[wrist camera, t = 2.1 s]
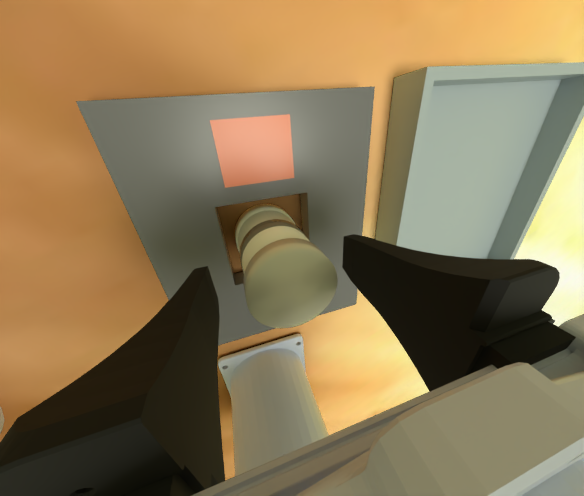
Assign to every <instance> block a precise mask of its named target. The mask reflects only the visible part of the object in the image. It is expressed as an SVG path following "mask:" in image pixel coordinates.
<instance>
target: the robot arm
mask: <svg viewBox="0 0 584 496" xmlns="http://www.w3.org/2000/svg"><path fill="white" fill-rule="evenodd" d="M342 268H343V269H344V271H345V272H346V274H347V276H348V277H349V279H350V280H351V281H352V283H353V284H354V285H355V286H356V287H357V288H358V290H359V291H360V292H361V293H362V294H363V295H364V296H365V297H366V299H367V300H368V301H369V302H370V303H371V304H372V305H373V306H374V307H375V309H376V310H377V311H378V312H379V313H380V315H381V316H382V317H383V319H384V320H385V321H386V323H387V324H388V326H389V327H390V328H391V330H392V331H393V333H394V334H395V336H396V337H397V339H398V340H399V342H400V343H401V345H402V346H403V348H404V349H405V351H406V352H407V354H408V356H409V357H410V359H411V360H412V362H413V364H414V365H415V367H416V368H417V370H418V372H419V374H420V375H421V377H422V379H423V381H424V382H425V384H426V386H427V388H428V389H429V391H430V392H428V393H425V394H423V395H421V396H419V397H416V398H414V399H412V400H409V401H407V402H405V403H403V404H400V405H398V406H396V407H393V408H391V409H389V410H386V411H384V412H382V413H380V414H377V415H375V416H373V417H370V418H368V419H366V420H364V421H361V422H359V423H357V424H354V425H352V426H350V427H347V428H345V429H343V430H341V431H338V432H336V433H334V434H331V435H328V432H327V429H326V427H325V424H324V421H323V419H322V416H321V413H320V410H319V408H318V405H317V402H316V400H315V397H314V394H313V392H312V389H311V386H310V384H309V381H308V378H307V375H306V371H305V359H304V346H303V337H302V335H301V334H294V335H291V336H288V337H285V338H282V339H278V340H275V341H272V342H269V343H266V344H262V345H259V346H256V347H253V348H250V349H246V350H243V351H240V352H237V353H234V354H230V355H227V356H224V357H221V358H220V359H219V360H218V366H219V369H220V371H221V374H222V376H223V379H224V381H225V384H226V386H227V389H228V391H229V394H230V396H231V404H232V424H233V443H234V463H235V477H233V478H230V479H228V480H226V481H225V474H224V462H223V451H222V439H221V425H220V411H219V395H218V375H217V357H218V339H219V321H220V314H219V301H218V296H217V293H216V290H215V287H214V284H213V281H212V278H211V275H210V271H209V268H208V266H205V267H200V268H196V269H194V270H193V271H192V272H191V274H190V275H189V276H188V278H187V279H186V280H185V282H184V283H183V284H182V285H181V287H180V288H179V289H178V291H177V292H176V293H175V294H174V295H173V297H172V298H171V299H170V300H169V301H168V302H167V303H166V305H165V306H164V307H163V308H162V309H161V310H160V311H159V312H158V313H157V314H156V315H155V316H154V317H153V318H152V319H151V320H150V321H149V322H148V323H147V324H146V325H145V326H144V327H143V328H142V329H141V330H140V331H139V332H138V333H136V334H135V335H134V336H133V337H132V338H130V339H129V340H128V341H127V342H126V343H124V344H123V345H122V346H121V347H120V348H118V349H117V350H116V351H115V352H114V353H112V354H111V355H110V356H108V357H107V358H106V359H104V360H103V361H102V362H100V363H99V364H98V365H96V366H95V367H94V368H92V369H91V370H90V371H88V372H87V373H85V374H84V375H83V376H81V377H80V378H78V379H77V380H75V381H74V382H72V383H71V384H70V385H68V386H67V387H65V388H64V389H62V390H60V391H59V392H57V393H56V394H54V395H53V396H51V397H50V398H48V399H47V400H45V401H43V402H42V403H40V404H39V405H37V406H36V407H34V408H33V409H31V410H30V411H28V412H26V413H25V414H23V415H22V416H20V417H18V418H17V420H16V421H15V422H14V424H13V425H12V427H11V428H10V429H9V431H8V432H7V434H6V435H5V437H4V438H3V439H2V441H1V442H0V496H584V462H583V461H584V314H582V315H580V316H578V317H575V318H573V319H571V320H568V321H566V322H564V323H563V324H561V325H560V326H559V327H557V326H556V325H554V324H552V323H550V322H548V321H550V320H551V319H552V317H551V315H549V314H547V313H546V312H544V311H542V310H541V309H542V308H543V306H544V305H545V303H546V302H547V300H548V299H549V297H550V296H551V294H552V293H553V291H554V289H555V288H556V286H557V284H558V281H559V272H558V270H557V269H556V268H555V267H552V266H550V265H547V264H545V263H542V262H539V261H535V260H530V259H480V258H466V257H456V256H447V255H440V254H433V253H428V252H422V251H417V250H412V249H408V248H404V247H400V246H396V245H393V244H389V243H386V242H382V241H379V240H375V239H372V238H368V237H365V236H361V235H356V234H352V235H348V236H344V240H343V263H342Z"/></svg>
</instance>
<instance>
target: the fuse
mask: <svg viewBox="0 0 584 496" xmlns="http://www.w3.org/2000/svg"><path fill="white" fill-rule="evenodd" d="M235 239H236V245H237V248H238V251H239V253H240V260H241V266H242V270H243V273H244V278H243V284H244V290H245V296H246V302H247V306H248V309H249V311H250V313H251V315H252V316H253V317H254V318H255V319H256V320H257V321H258V322H260V323H261V324H264V325H266V326H269V327H273V328H290V327H295V326H298V325H301V324H304V323H306V322H308V321H310V320H312V319H313V318H315V317H316V316H318V315H319V314H320V313H321V312H322V311H323V310H324V309H325V308H326V307H327V306H328V305H329V303H330V302H331V300H332V298H333V297H334V294H335V292H336V288H337V282H338V279H337V272H336V269H335V267H334V265H333V264H332V262H331V261H330V260H329V259H328V258H327V257H326V256H325V255H324V253H323V252H322V251H321V250H320V249H319V248H318V247H317V246H316V245H315V244H313V243H311V242H310V241H309V240H308V238H307V237H306V235H305V234H304V233H303V232H302V231H301V230H300V229H299V228H298V227H297V226H296V224H295V222H294V221H293V219H292V218H291V217H290V216H289V215H288V214H287V213H286V211H284V210H283V209H282V208H280V207H278V206H276V205H273V204H259V205H255V206H253V207H251V208H249V209H247V210H246V211H245V212H244V213H243V214H242V215H241V216H240V218H239V219H238V221H237V223H236V227H235Z"/></svg>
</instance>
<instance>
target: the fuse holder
mask: <svg viewBox="0 0 584 496" xmlns="http://www.w3.org/2000/svg"><path fill="white" fill-rule="evenodd" d="M374 88H375V87H357V88H337V89H317V90H297V91H276V92H256V93H236V94H216V95H195V96H175V97H155V98H135V99H114V100H94V101H76V102H77V105H78V107H79V109H80V111H81V113H82V115H83V117H84V120H85V122H86V124H87V126H88V128H89V130H90V132H91V135H92V137H93V139H94V141H95V143H96V145H97V147H98V150H99V152H100V154H101V156H102V158H103V160H104V162H105V164H106V167H107V169H108V171H109V173H110V175H111V177H112V179H113V182H114V184H115V186H116V188H117V190H118V192H119V194H120V197H121V199H122V201H123V203H124V205H125V207H126V209H127V212H128V214H129V216H130V218H131V220H132V222H133V224H134V227H135V229H136V231H137V233H138V235H139V237H140V239H141V242H142V244H143V246H144V248H145V250H146V252H147V254H148V257H149V259H150V261H151V263H152V265H153V267H154V269H155V271H156V274H157V276H158V278H159V280H160V282H161V284H162V286H163V289H164V291H165V293H166V295H167V297H168V299H169V300H170V299H171V298H172V297H173V295H174V294H175V293H176V292H177V291H178V289H179V288H180V287H181V285H182V284H183V283H184V282H185V280H186V279H187V278H188V276H189V275H190V274H191V272H192V271H193V270H194V269H196V268H200V267H205V266H208V268H209V271H210V275H211V278H212V281H213V284H214V287H215V290H216V293H217V296H218V301H219V314H220V321H219V339H218V345H221V344H225V343H228V342H231V341H235V340H238V339H241V338H245V337H248V336H251V335H255V334H258V333H261V332H265V331H268V330H271V329H275V328H273V327H269V326H266V325H264V324H261V323H260V322H258V321H257V320H256V319H255V318H254V317H253V316H252V315H251V313H250V311H249V309H248V306H247V302H246V296H245V290H244V284H243V278H244V273H243V272H239V273H235V274H234V273H233V269H232V265H231V261H230V257H229V254H228V250H227V246H226V242H225V238H224V234H223V230H222V226H221V222H220V218H219V215H218V211H217V207H220V206H226V205H232V204H238V203H245V202H251V201H257V200H263V199H269V198H276V197H282V196H288V195H294V194H300V202H301V218H302V232H303V233H304V234H305V235H306V237H307V238H308V240H309V241H310V242H311V243H313V244H315V245H316V246H317V247H318V248H319V249H320V250H321V251H322V252H323V253H324V255H325V256H326V257H327V258H328V259H329V260H330V261H331V262H332V264H333V265H334V267H335V269H336V272H337V279H338V282H337V288H336V292H335V294H334V297H333V298H332V300H331V302H330V303H329V305H328V306H327V307H326V308H325V309H324V310H323V311H322V312H321V313H320V314H319V315H322V314H325V313H328V312H332V311H335V310H338V309H342V308H345V307H348V306H352V305H355V304H356V300H357V287H356V286H355V285H354V284H353V283H352V281H351V280H350V279H349V277H348V276H347V274H346V272H345V271H344V269H343V268H342V263H343V240H344V236H348V235H352V234H356V235H361V236H362V229H363V217H364V205H365V194H366V182H367V170H368V158H369V147H370V135H371V123H372V111H373V99H374Z"/></svg>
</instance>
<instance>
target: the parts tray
mask: <svg viewBox="0 0 584 496" xmlns="http://www.w3.org/2000/svg"><path fill="white" fill-rule="evenodd" d="M583 116H584V62H582V63H546V64H510V65H474V66H437V67H425V68H422V69H419V70H416V71H413V72H410V73H407V74H404V75H401V76H398V77H395V78H394V84H393V92H392V101H391V109H390V118H389V126H388V135H387V143H386V152H385V160H384V168H383V177H382V185H381V194H380V202H379V211H378V219H377V228H376V236H375V240H379V241H382V242H386V243H389V244H393V245H396V246H400V247H404V248H408V249H412V250H417V251H422V252H428V253H433V254H440V255H447V256H456V257H466V258H480V259H514V257H515V255H516V253H517V251H518V249H519V247H520V245H521V243H522V241H523V239H524V237H525V235H526V233H527V231H528V229H529V227H530V225H531V223H532V221H533V219H534V216H535V214H536V212H537V210H538V208H539V206H540V204H541V202H542V200H543V198H544V196H545V194H546V192H547V190H548V188H549V186H550V184H551V182H552V180H553V178H554V176H555V174H556V171H557V169H558V167H559V165H560V163H561V161H562V159H563V157H564V155H565V153H566V151H567V149H568V147H569V145H570V143H571V141H572V139H573V137H574V135H575V133H576V131H577V128H578V126H579V124H580V122H581V120H582V118H583Z"/></svg>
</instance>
